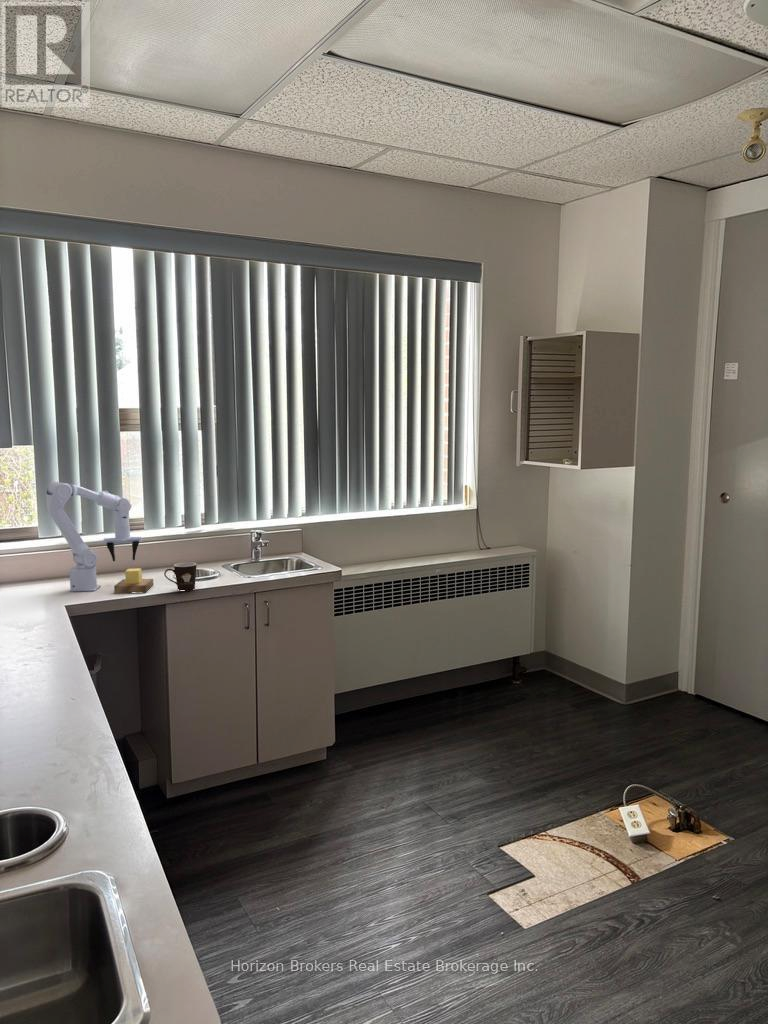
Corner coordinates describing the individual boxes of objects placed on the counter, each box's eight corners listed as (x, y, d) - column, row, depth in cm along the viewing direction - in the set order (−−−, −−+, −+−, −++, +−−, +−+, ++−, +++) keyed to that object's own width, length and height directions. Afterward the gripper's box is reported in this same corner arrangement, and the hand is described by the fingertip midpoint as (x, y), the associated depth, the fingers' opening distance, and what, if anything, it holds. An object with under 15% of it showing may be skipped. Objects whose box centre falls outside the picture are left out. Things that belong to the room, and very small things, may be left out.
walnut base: (114, 593, 296) (114, 586, 296) (123, 586, 308) (122, 579, 308) (146, 592, 297) (145, 585, 297) (153, 586, 309) (153, 578, 309)
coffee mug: (200, 587, 305) (199, 562, 304) (193, 592, 297) (192, 566, 296) (172, 587, 307) (171, 562, 305) (164, 592, 298) (162, 566, 297)
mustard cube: (125, 583, 299) (125, 571, 299) (129, 581, 304) (128, 568, 304) (139, 583, 300) (138, 570, 299) (142, 580, 305) (141, 568, 304)
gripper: (102, 529, 307) (104, 563, 308) (140, 527, 310) (141, 561, 312) (104, 527, 313) (106, 559, 315) (141, 525, 317) (143, 558, 318)
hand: (124, 560), depth 314 cm, fingers open, 7 cm apart
